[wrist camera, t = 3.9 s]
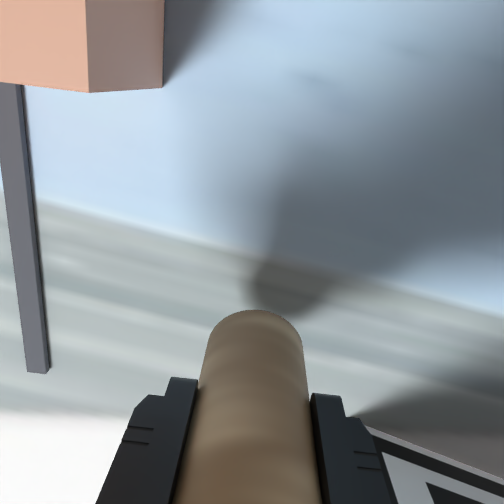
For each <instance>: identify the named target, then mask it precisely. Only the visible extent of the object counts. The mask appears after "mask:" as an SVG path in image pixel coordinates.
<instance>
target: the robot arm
mask: <svg viewBox="0 0 504 504" xmlns="http://www.w3.org/2000/svg"><path fill="white" fill-rule="evenodd" d="M197 391H198V380H196V379H188V378H179V377H171V379H170V381H169V384H168V387H167V390H166V393H165V396H157V395H147V396H146V397H145V398H144V399H143V400H142V401H141V402H140V403H139V404H138V405H137V406H136V407H135V409H134V411H133V413H132V416H131V418H130V421H129V423H128V426H127V429H126V431H125V433H124V435H123V438H122V442H121V444H120V445H119V448H118V450H117V453H116V455H115V457H114V460H113V462H112V465H111V467H110V470H109V472H108V475H107V477H106V479H105V482H104V484H103V487H102V489H101V492H100V494H99V497H98V499H97V501H96V503H95V504H172V500H173V496H174V492H175V487H176V483H177V479H178V474H179V470H180V466H181V461H182V457H183V452H184V448H185V444H186V439H187V435H188V431H189V426H190V422H191V418H192V413H193V409H194V404H195V400H196V396H197ZM310 410H311V418H312V426H313V434H314V442H315V450H316V458H317V466H318V473H319V481H320V489H321V497H322V504H391V501H390V497H389V494H388V490H387V487H386V484H385V480H384V477H383V473H381V466H380V463H379V459H378V457H377V453H376V449H375V446H374V442H373V439H372V435H371V434H370V432H369V431H368V430H367V428H366V427H365V426H364V424H363V423H362V422H361V420H360V419H359V418H351V417H346V416H345V412H344V408H343V403H342V399H341V397H340V396H336V395H327V394H319V393H312V395H311V399H310Z"/></svg>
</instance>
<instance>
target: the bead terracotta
mask: <svg viewBox="0 0 504 504" xmlns="http://www.w3.org/2000/svg"><path fill="white" fill-rule="evenodd" d="M164 3H165V0H0V82H5V83H13V84H22V85H30V86H38V87H46V88H54V89H62V90H70V91H78V92H86V93H94V92H109V91H123V90H138V89H153V88H162V79H163V41H164Z"/></svg>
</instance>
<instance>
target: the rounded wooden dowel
mask: <svg viewBox="0 0 504 504" xmlns="http://www.w3.org/2000/svg"><path fill="white" fill-rule="evenodd" d="M172 504H322V497H321V489H320V481H319V473H318V466H317V458H316V450H315V442H314V434H313V426H312V418H311V410H310V401H309V393H308V385H307V377H306V370H305V362H304V354H303V346H302V341H301V338H300V336H299V334H298V332H297V331H296V329H295V328H294V327H293V326H292V325H291V324H290V323H289V322H288V321H287V320H285V319H284V318H282V317H281V316H279V315H276V314H274V313H271V312H268V311H262V310H245V311H240V312H237V313H234V314H232V315H229V316H228V317H226V318H224V319H223V320H222V321H220V322H219V323H218V324H217V325H216V326H215V328H214V329H213V331H212V332H211V334H210V337H209V340H208V344H207V348H206V352H205V357H204V361H203V365H202V370H201V374H200V378H199V382H198V391H197V396H196V400H195V404H194V409H193V413H192V418H191V422H190V426H189V431H188V435H187V439H186V444H185V448H184V452H183V457H182V461H181V466H180V470H179V474H178V479H177V483H176V487H175V492H174V496H173V500H172Z"/></svg>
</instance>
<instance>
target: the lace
mask: <svg viewBox="0 0 504 504" xmlns="http://www.w3.org/2000/svg"><path fill="white" fill-rule="evenodd" d="M0 164H1V172H2V180H3V187H4V195H5V203H6V211H7V219H8V226H9V234H10V242H11V250H12V257H13V265H14V273H15V281H16V288H17V296H18V304H19V312H20V319H21V327H22V335H23V343H24V351H25V358H26V366H27V372H32V373H41V374H46V373H47V372H48V371H49V361H48V351H47V341H46V331H45V321H44V311H43V302H42V292H41V282H40V272H39V262H38V252H37V243H36V233H35V223H34V213H33V203H32V193H31V184H30V174H29V164H28V154H27V144H26V134H25V124H24V115H23V105H22V95H21V85H20V84H13V83H5V82H0Z"/></svg>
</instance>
